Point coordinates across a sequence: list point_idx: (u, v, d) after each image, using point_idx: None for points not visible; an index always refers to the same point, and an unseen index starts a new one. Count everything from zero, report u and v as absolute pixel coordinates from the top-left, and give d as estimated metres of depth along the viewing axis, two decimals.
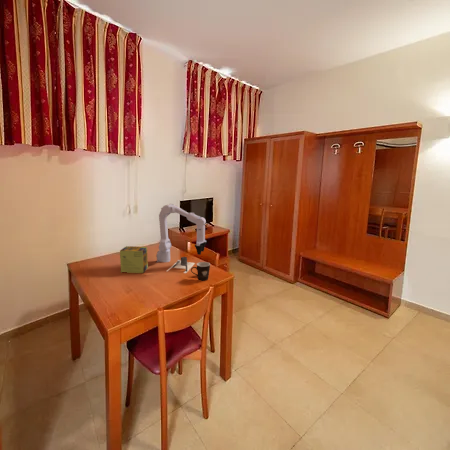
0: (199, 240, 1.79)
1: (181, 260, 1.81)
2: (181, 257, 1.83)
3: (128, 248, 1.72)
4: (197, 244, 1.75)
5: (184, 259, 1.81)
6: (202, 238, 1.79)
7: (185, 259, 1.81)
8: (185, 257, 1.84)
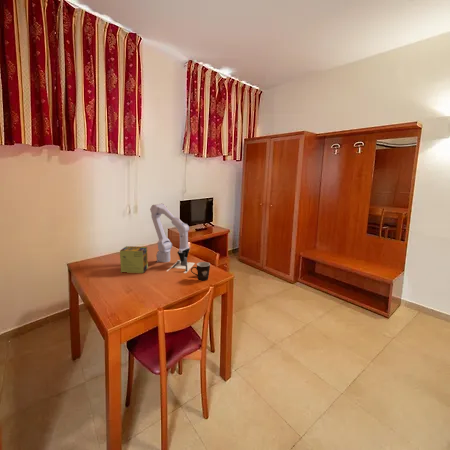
0: (182, 247, 1.78)
1: None
2: None
3: (128, 248, 1.72)
4: (179, 251, 1.74)
5: (184, 259, 1.81)
6: (185, 245, 1.78)
7: (185, 259, 1.81)
8: (185, 257, 1.84)
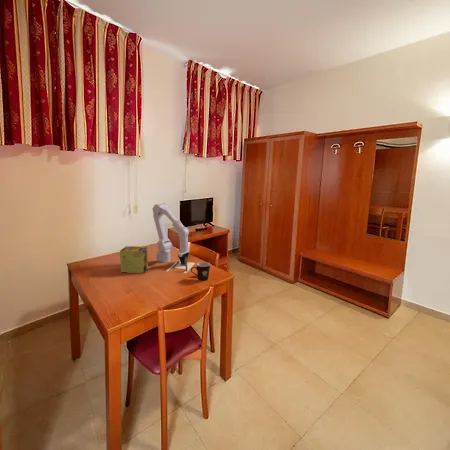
0: (182, 251, 1.79)
1: None
2: None
3: (128, 248, 1.72)
4: (179, 255, 1.75)
5: None
6: (185, 249, 1.79)
7: (185, 259, 1.81)
8: None
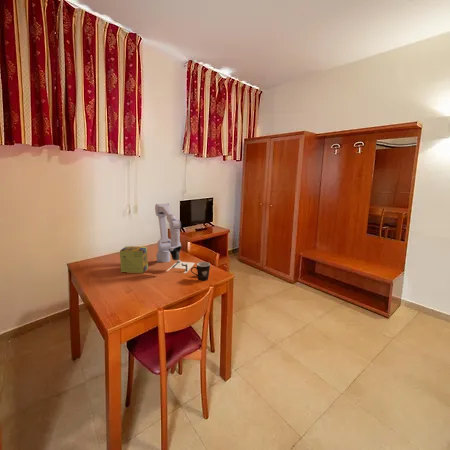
0: (173, 244, 1.67)
1: None
2: None
3: (128, 248, 1.72)
4: (170, 249, 1.63)
5: None
6: (176, 242, 1.67)
7: (177, 253, 1.70)
8: (177, 251, 1.72)
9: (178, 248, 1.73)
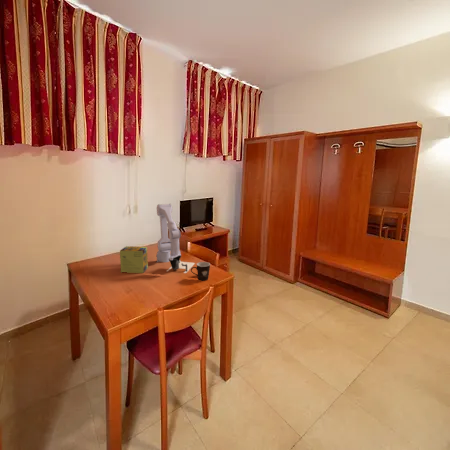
0: (173, 254, 1.68)
1: None
2: None
3: (128, 248, 1.72)
4: (170, 258, 1.64)
5: (176, 263, 1.70)
6: (176, 252, 1.68)
7: (177, 263, 1.70)
8: (177, 260, 1.73)
9: (178, 257, 1.74)
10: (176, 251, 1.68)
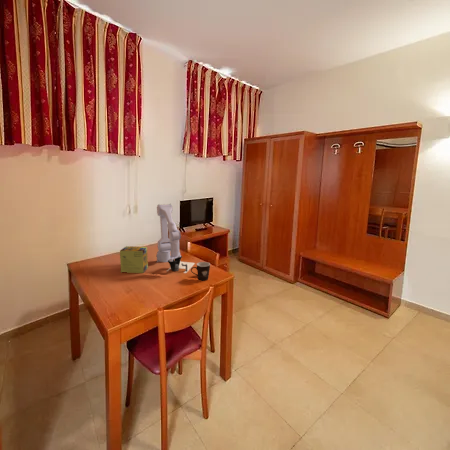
0: (173, 255, 1.68)
1: None
2: None
3: (128, 248, 1.72)
4: (170, 260, 1.64)
5: (176, 267, 1.71)
6: (176, 253, 1.68)
7: (177, 266, 1.71)
8: (177, 264, 1.73)
9: (178, 258, 1.75)
10: (176, 252, 1.68)
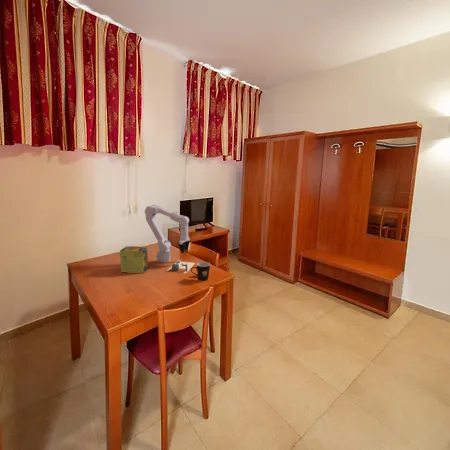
0: (182, 239, 1.82)
1: (172, 268, 1.71)
2: None
3: (128, 248, 1.72)
4: (180, 243, 1.78)
5: (176, 266, 1.71)
6: (185, 237, 1.82)
7: (177, 266, 1.71)
8: (177, 264, 1.73)
9: (187, 242, 1.89)
10: (185, 236, 1.82)
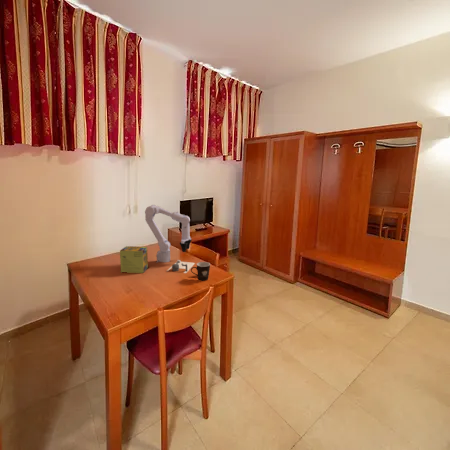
0: (184, 238, 1.84)
1: (172, 268, 1.71)
2: None
3: (128, 248, 1.72)
4: (182, 242, 1.80)
5: (176, 267, 1.71)
6: (187, 236, 1.84)
7: (177, 266, 1.71)
8: (177, 264, 1.73)
9: (188, 241, 1.91)
10: (187, 235, 1.84)
